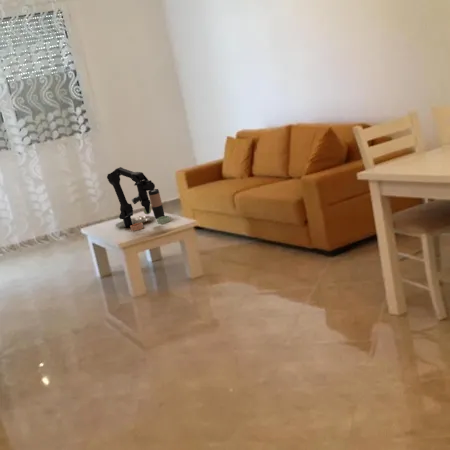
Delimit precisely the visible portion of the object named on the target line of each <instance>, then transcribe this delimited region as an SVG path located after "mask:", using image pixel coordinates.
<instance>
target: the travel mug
mask: <svg viewBox="0 0 450 450" xmlns="http://www.w3.org/2000/svg"><path fill="white" fill-rule="evenodd" d="M147 194H148V198H149V200H150V203H151V204H150V207H151V208H152V209H151V210H152V212H153V216H154V219H156V220H157V219H158V218H160V217H163V216H166V215H165V212H164V206H163V202H162V198H161V194H160V190H159V188H154V190H151V191H147Z"/></svg>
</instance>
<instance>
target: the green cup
mask: <svg viewBox="0 0 450 450" xmlns="http://www.w3.org/2000/svg"><path fill="white" fill-rule="evenodd" d="M156 222H157V224H158V225H161V224H162V225H163V224H167V223H169V222H171V219H170V215H165V216H163V217H160V218H158V219H156Z"/></svg>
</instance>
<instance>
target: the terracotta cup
mask: <svg viewBox="0 0 450 450" xmlns="http://www.w3.org/2000/svg"><path fill="white" fill-rule="evenodd" d="M129 227H130V230H131V232H132V231H138V230H142V229H143V228H145V227H144V222H136V223H135V222H134V223H133V224H132V225H131V226H129Z"/></svg>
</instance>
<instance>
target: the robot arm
mask: <svg viewBox="0 0 450 450" xmlns="http://www.w3.org/2000/svg"><path fill="white" fill-rule="evenodd" d="M120 176H123V177H126V178H129V179H130V180H132V181H133V182H135V183H134V184H133V186H136V188H137V192H138V194H137V196H135V197H133V198H132V199H131V201H132V203H133V204H134V205H136V204H137V203H139V202H140V205H141V206H142V207H143V208H145V210H146V212H147V214H146V215H149V214H148V213H149V209H151V208H150V207H151V201H150V197H149V193H148V191H151V190H154V189H156V188H155V187H156V186H155V183H154V182H153V181H152V180H149V178H148V177H147V176H146V175H145V174H144V173H143V172H141V171H133V170H132V171H131V170H129V169H125V168H124V167H121V166H119V167H117V168H115V169H114V170H113V171H112V172H110V173H107V176H106V179H107V181H108V183H109V184H111V186H112V187H113V189H114V192H115V194H116V196H117V199H118V202H119V205H120V208H119V210H120V214H119V216H118V217H119V219H120V220H123V226H124V228H129V227H130V226H131V225H132V223H133V220H132V216H133V215H134V208H133V206H132V203H129V202H128V200H127V198H126V196H125V193H124V191H123V188H122V186H121V177H120Z"/></svg>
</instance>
